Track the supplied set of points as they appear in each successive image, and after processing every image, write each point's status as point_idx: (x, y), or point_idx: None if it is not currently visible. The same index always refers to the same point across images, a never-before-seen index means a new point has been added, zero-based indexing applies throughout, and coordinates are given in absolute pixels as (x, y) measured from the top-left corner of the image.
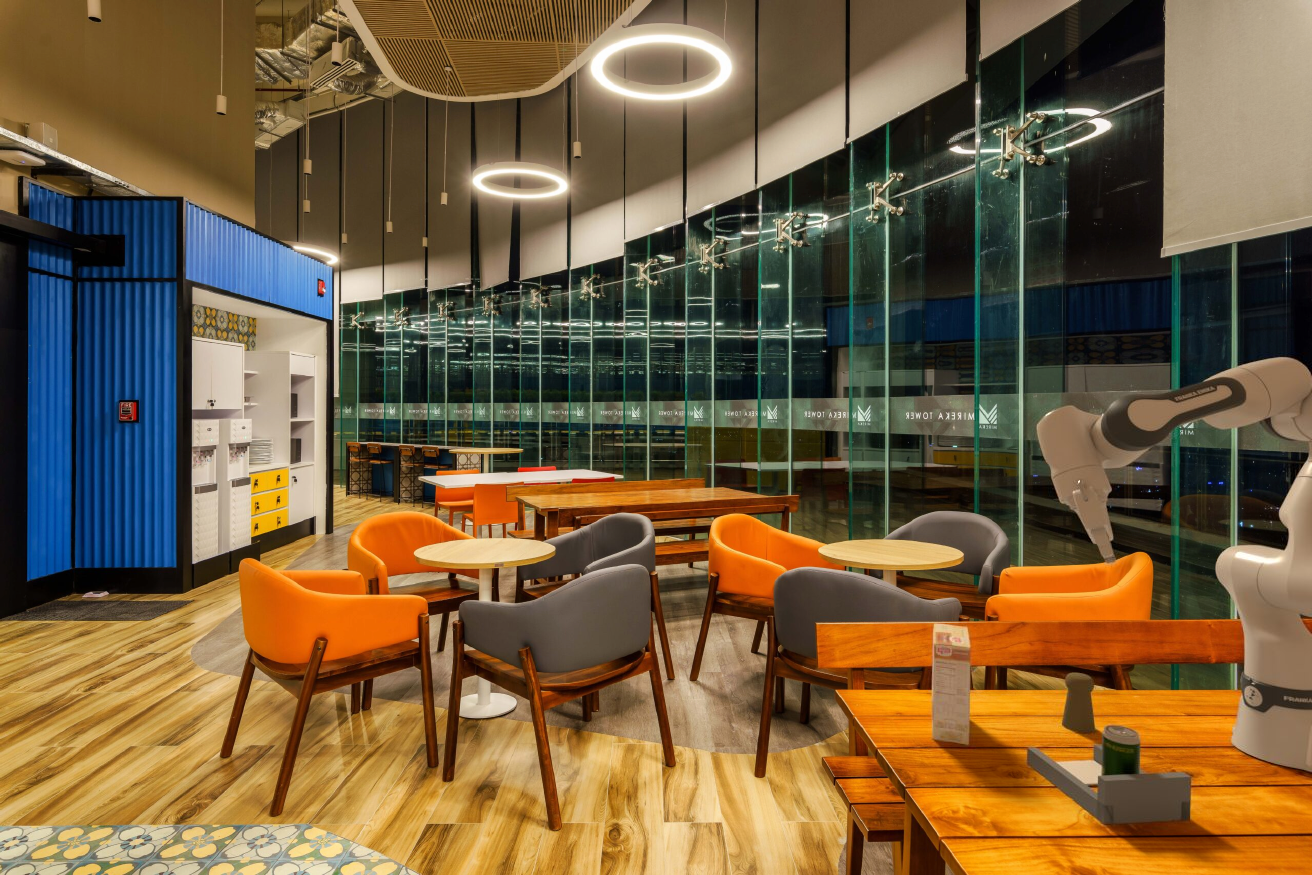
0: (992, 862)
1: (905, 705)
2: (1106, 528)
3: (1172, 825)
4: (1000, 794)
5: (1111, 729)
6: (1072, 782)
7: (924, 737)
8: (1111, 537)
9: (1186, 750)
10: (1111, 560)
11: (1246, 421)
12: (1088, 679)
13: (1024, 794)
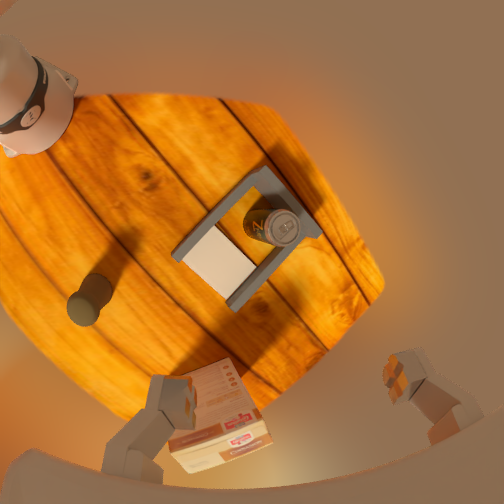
0: (378, 275)
1: None
2: (468, 426)
3: None
4: (303, 303)
5: (286, 238)
6: (283, 260)
7: None
8: (112, 475)
9: (83, 185)
10: (192, 387)
11: None
12: (85, 300)
13: (292, 289)
